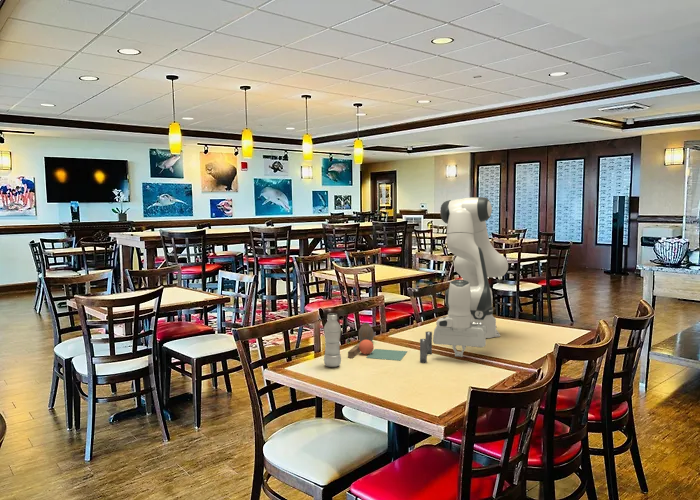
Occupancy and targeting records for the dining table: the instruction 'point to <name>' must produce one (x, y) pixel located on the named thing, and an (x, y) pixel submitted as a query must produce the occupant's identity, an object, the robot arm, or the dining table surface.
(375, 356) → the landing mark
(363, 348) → the ball
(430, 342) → the post
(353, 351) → the wall
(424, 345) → the post
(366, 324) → the vase
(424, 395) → the dining table surface
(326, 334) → the plastic bottle
